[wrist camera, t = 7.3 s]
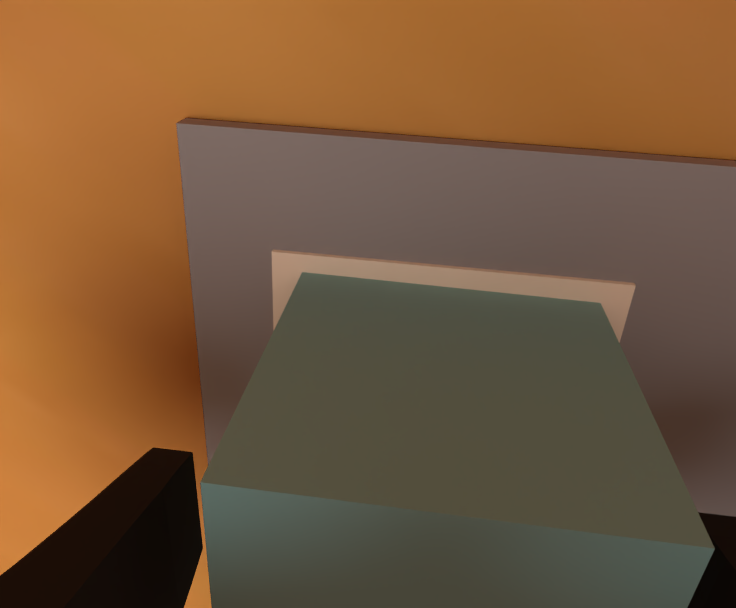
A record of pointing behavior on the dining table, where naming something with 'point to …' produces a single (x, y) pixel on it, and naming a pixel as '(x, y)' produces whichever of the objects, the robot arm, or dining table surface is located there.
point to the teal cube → (445, 460)
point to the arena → (474, 254)
